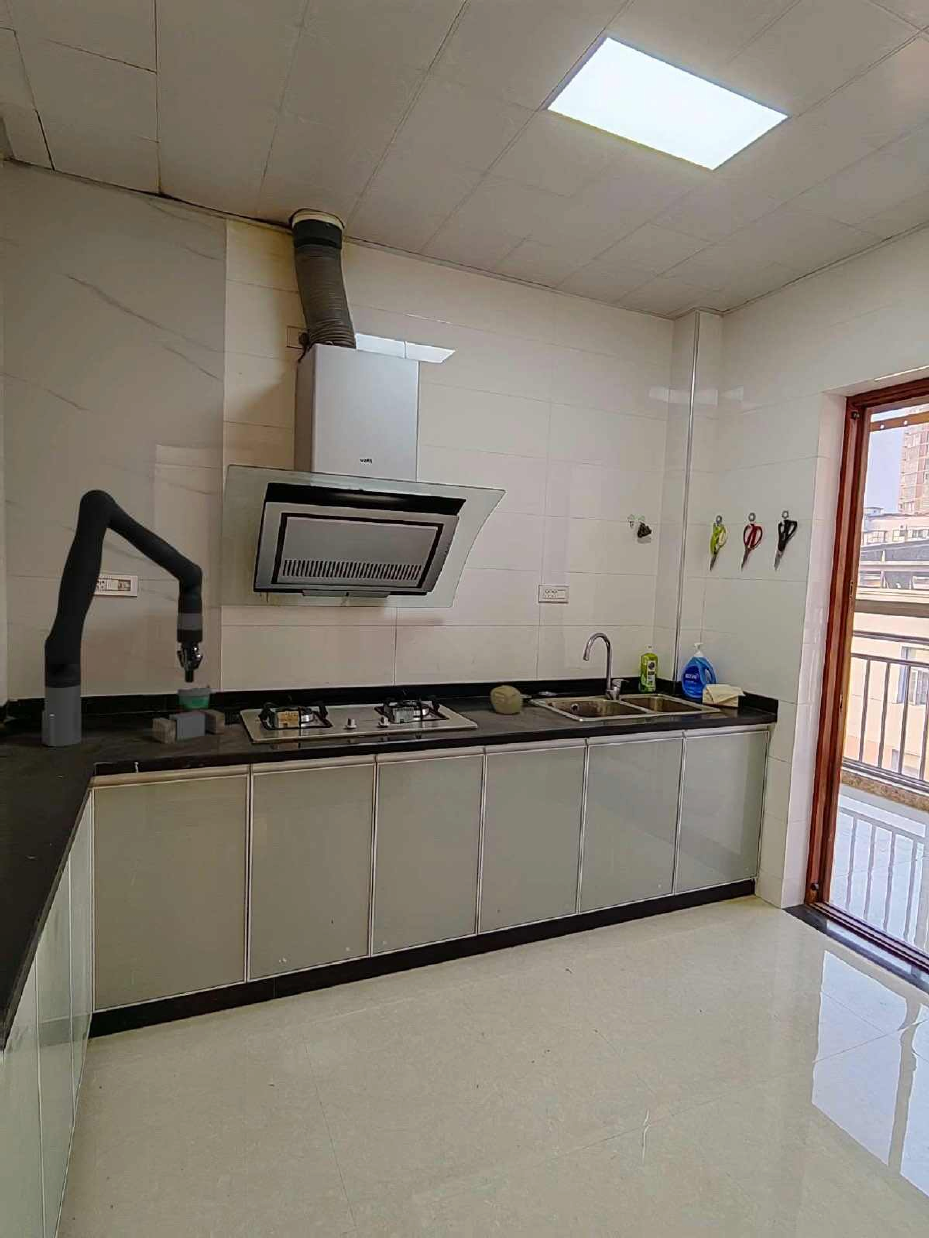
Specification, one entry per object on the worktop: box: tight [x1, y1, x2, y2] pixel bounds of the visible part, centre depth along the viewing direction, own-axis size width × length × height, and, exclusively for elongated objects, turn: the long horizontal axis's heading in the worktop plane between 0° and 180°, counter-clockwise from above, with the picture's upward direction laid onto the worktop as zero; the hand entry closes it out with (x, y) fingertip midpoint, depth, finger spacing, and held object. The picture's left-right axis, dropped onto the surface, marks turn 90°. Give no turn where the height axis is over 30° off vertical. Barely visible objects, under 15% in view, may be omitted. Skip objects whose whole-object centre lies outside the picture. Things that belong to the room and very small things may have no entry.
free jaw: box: [203, 709, 226, 735], centre depth 225 cm, size 3×8×6 cm, turn 49°
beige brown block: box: [152, 717, 176, 744], centre depth 213 cm, size 3×8×6 cm, turn 49°
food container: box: [176, 684, 212, 714], centre depth 244 cm, size 12×6×10 cm, turn 143°
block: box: [168, 711, 206, 741], centre depth 219 cm, size 9×5×7 cm, turn 139°
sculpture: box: [490, 684, 524, 715], centre depth 274 cm, size 11×12×11 cm
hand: (189, 682), depth 218 cm, fingers closed
